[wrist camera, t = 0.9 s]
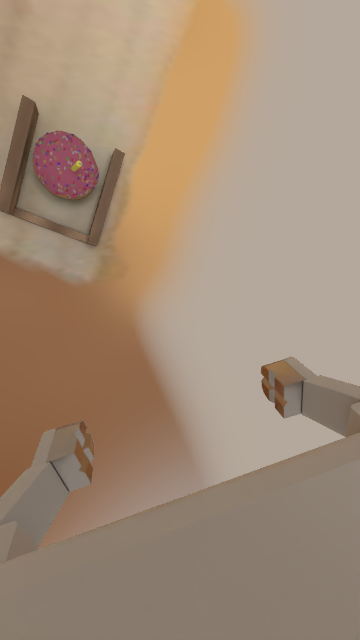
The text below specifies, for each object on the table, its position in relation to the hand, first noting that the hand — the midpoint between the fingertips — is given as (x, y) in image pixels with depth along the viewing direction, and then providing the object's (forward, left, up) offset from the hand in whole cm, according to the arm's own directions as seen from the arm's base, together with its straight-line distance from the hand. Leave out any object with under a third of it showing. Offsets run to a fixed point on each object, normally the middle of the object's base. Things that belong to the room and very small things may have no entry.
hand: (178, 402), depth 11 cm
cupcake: (-9, +15, -40) cm, 43 cm away
